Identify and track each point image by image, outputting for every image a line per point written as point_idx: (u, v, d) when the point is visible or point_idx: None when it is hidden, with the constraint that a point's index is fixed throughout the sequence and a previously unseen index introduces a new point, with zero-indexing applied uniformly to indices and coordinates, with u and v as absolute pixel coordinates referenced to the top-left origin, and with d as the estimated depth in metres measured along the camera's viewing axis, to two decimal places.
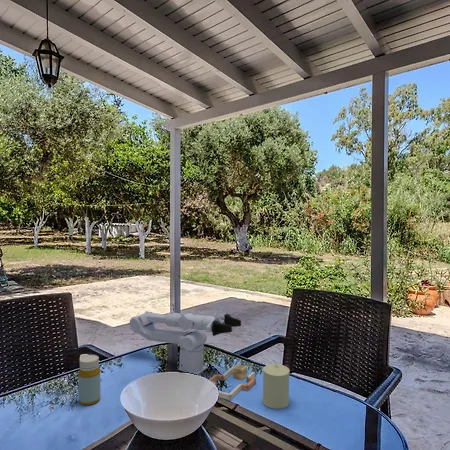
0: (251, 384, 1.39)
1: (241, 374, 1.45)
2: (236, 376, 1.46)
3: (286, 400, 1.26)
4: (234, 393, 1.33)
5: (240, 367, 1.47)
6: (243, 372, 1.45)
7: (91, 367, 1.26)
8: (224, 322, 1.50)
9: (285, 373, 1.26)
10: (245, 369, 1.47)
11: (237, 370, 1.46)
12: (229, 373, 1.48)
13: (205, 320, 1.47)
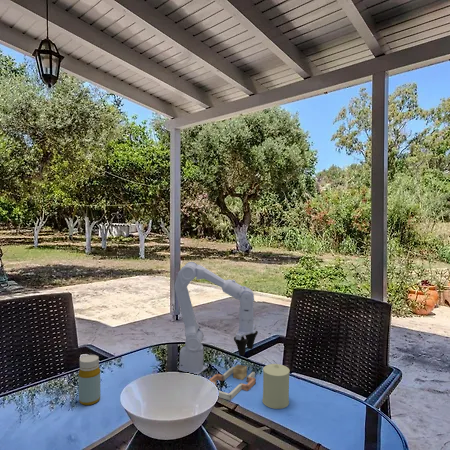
0: (251, 384, 1.39)
1: (241, 374, 1.45)
2: (236, 376, 1.46)
3: (286, 400, 1.26)
4: (234, 393, 1.33)
5: (240, 367, 1.47)
6: (243, 372, 1.45)
7: (91, 367, 1.26)
8: None
9: (285, 373, 1.26)
10: (245, 369, 1.47)
11: (237, 370, 1.46)
12: (229, 373, 1.48)
13: (247, 324, 1.48)
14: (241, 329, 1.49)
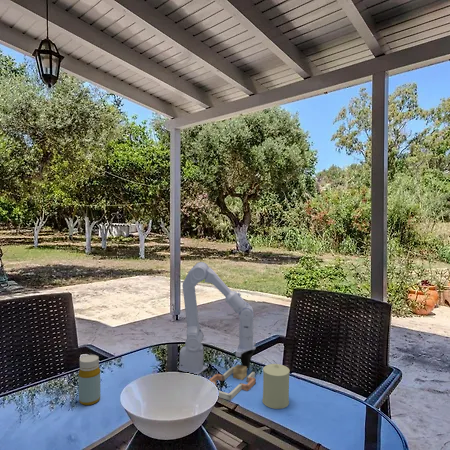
0: (251, 384, 1.39)
1: (241, 374, 1.45)
2: (236, 376, 1.46)
3: (286, 400, 1.26)
4: (234, 393, 1.33)
5: (240, 367, 1.47)
6: (243, 372, 1.45)
7: (91, 367, 1.26)
8: None
9: (285, 373, 1.26)
10: (245, 369, 1.47)
11: (237, 370, 1.46)
12: (229, 373, 1.48)
13: (247, 340, 1.48)
14: (241, 345, 1.49)
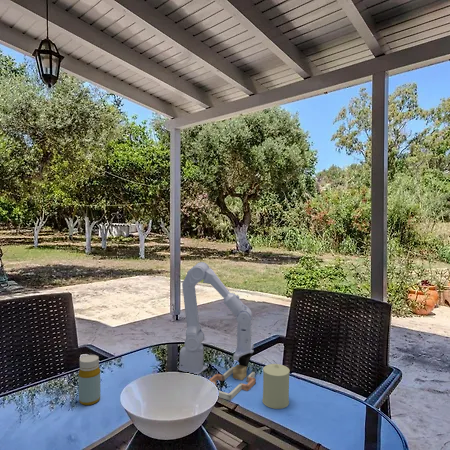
0: (251, 384, 1.39)
1: (241, 374, 1.45)
2: (236, 376, 1.46)
3: (286, 400, 1.26)
4: (234, 393, 1.33)
5: (240, 367, 1.47)
6: (242, 372, 1.45)
7: (91, 367, 1.26)
8: None
9: (285, 373, 1.26)
10: (245, 369, 1.47)
11: (237, 370, 1.45)
12: (229, 373, 1.48)
13: (245, 343, 1.47)
14: (239, 349, 1.48)
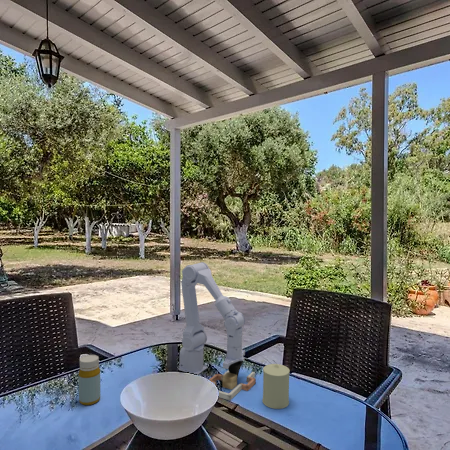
0: (251, 384, 1.39)
1: (231, 383, 1.37)
2: (225, 385, 1.39)
3: (286, 400, 1.26)
4: (234, 393, 1.33)
5: (230, 375, 1.40)
6: (232, 381, 1.38)
7: (91, 367, 1.26)
8: None
9: (285, 373, 1.26)
10: (235, 378, 1.40)
11: (226, 379, 1.38)
12: None
13: (235, 351, 1.39)
14: (229, 356, 1.40)
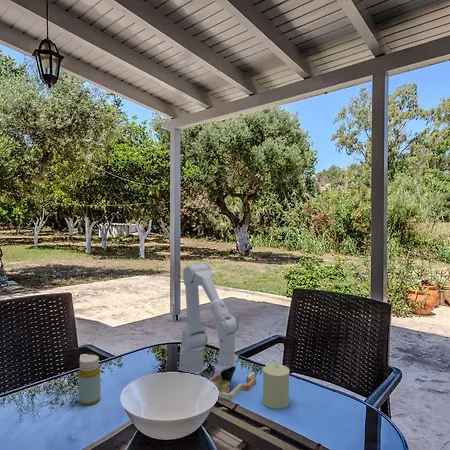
0: (251, 384, 1.39)
1: (223, 390, 1.32)
2: None
3: (286, 400, 1.26)
4: (234, 393, 1.33)
5: (222, 382, 1.35)
6: (224, 388, 1.33)
7: (91, 367, 1.26)
8: None
9: (285, 373, 1.26)
10: (228, 384, 1.34)
11: (219, 386, 1.33)
12: None
13: (228, 356, 1.34)
14: (221, 362, 1.35)
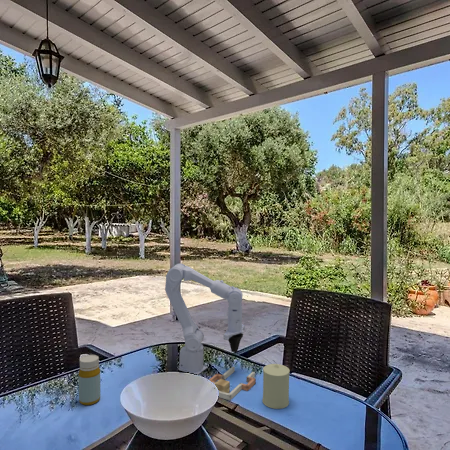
0: (251, 384, 1.39)
1: (223, 390, 1.32)
2: None
3: (286, 400, 1.26)
4: (234, 393, 1.33)
5: (222, 382, 1.35)
6: (224, 388, 1.33)
7: (91, 367, 1.26)
8: None
9: (285, 373, 1.26)
10: (227, 385, 1.34)
11: (219, 386, 1.33)
12: (229, 373, 1.48)
13: (236, 324, 1.48)
14: (229, 329, 1.49)
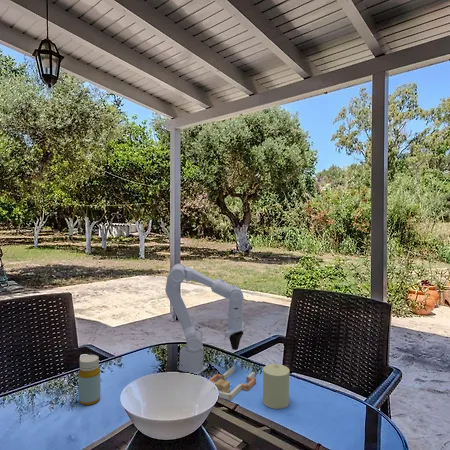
0: (251, 384, 1.39)
1: (223, 390, 1.32)
2: None
3: (286, 400, 1.26)
4: (234, 393, 1.33)
5: (222, 382, 1.35)
6: (224, 388, 1.33)
7: (91, 367, 1.26)
8: None
9: (285, 373, 1.26)
10: (228, 385, 1.34)
11: (219, 386, 1.33)
12: (229, 373, 1.48)
13: (236, 321, 1.50)
14: (230, 327, 1.51)
